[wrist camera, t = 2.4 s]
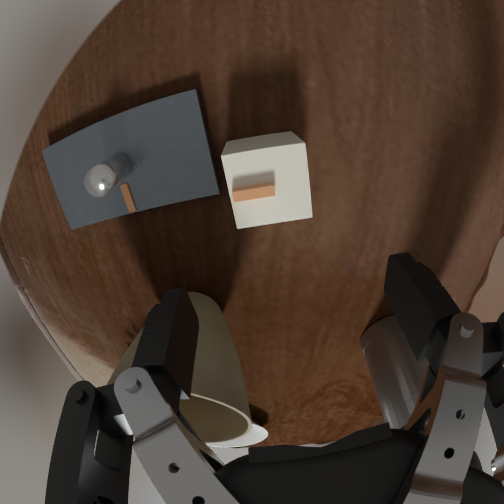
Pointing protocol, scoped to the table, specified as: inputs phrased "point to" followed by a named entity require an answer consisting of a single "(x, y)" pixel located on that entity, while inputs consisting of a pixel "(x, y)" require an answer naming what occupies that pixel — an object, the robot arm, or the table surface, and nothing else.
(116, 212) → the panel
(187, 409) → the plant pot
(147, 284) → the table surface
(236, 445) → the bowl
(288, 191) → the white and orange block
